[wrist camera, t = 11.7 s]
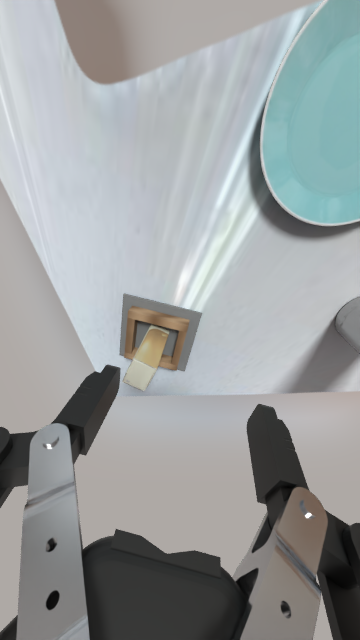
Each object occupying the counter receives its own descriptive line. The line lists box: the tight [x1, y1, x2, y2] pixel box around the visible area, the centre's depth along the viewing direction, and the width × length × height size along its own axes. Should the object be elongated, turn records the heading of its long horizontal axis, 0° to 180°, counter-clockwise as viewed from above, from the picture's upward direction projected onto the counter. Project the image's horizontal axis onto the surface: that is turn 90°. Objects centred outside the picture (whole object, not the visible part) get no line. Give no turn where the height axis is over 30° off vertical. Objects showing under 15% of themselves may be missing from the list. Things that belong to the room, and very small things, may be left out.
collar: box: [124, 306, 190, 371], centre depth 43 cm, size 12×12×2 cm
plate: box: [260, 0, 360, 226], centre depth 24 cm, size 22×22×3 cm
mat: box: [120, 294, 202, 371], centre depth 44 cm, size 16×16×1 cm
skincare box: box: [122, 324, 170, 391], centre depth 39 cm, size 6×4×12 cm
